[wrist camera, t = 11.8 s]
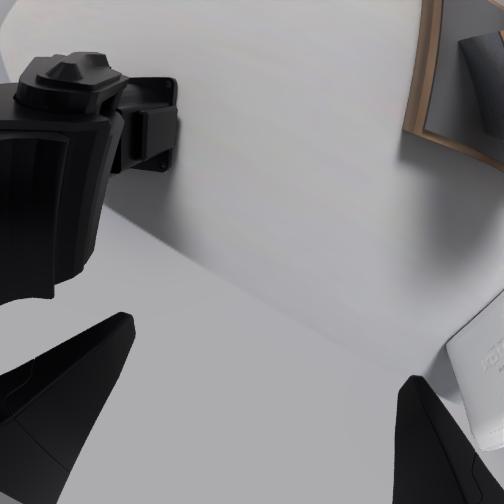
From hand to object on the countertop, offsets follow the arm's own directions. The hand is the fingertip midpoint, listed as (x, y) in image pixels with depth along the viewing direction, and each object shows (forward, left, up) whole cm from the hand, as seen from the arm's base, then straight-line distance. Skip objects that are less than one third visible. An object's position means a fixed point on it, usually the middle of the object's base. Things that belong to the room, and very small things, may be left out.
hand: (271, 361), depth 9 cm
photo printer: (+20, -6, -13) cm, 25 cm away
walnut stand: (+11, +12, -13) cm, 21 cm away
